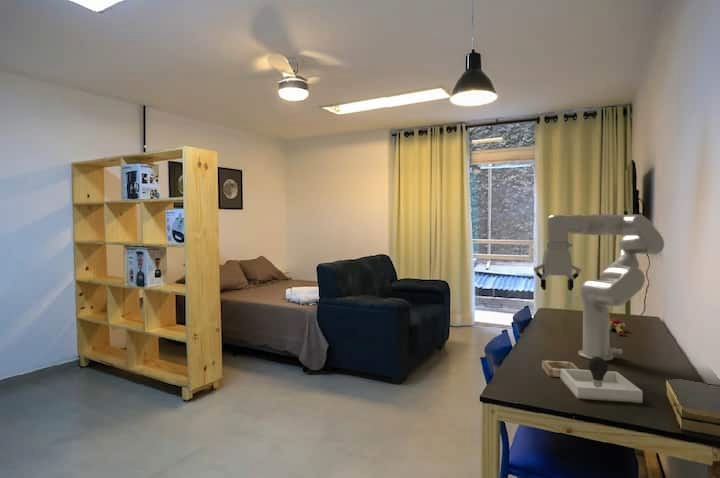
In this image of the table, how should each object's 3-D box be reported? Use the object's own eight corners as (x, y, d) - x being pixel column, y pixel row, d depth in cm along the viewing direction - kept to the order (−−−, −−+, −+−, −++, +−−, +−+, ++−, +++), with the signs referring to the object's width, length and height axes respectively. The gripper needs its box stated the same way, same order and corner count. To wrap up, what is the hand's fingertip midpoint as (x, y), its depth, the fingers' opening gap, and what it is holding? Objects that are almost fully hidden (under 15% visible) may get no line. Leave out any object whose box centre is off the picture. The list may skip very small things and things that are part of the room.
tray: (616, 382, 144) (617, 371, 144) (642, 402, 126) (642, 391, 126) (560, 378, 147) (560, 368, 147) (577, 398, 129) (577, 387, 129)
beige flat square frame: (571, 368, 158) (571, 362, 158) (580, 378, 147) (581, 371, 147) (542, 366, 159) (542, 360, 159) (549, 376, 149) (549, 369, 149)
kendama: (631, 339, 208) (622, 327, 225) (629, 327, 207) (620, 315, 224) (614, 341, 210) (606, 328, 227) (612, 328, 210) (604, 317, 227)
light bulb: (584, 384, 139) (584, 354, 139) (600, 384, 140) (600, 354, 140) (595, 391, 134) (595, 359, 134) (611, 390, 134) (612, 359, 134)
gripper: (577, 246, 168) (577, 289, 169) (532, 245, 171) (531, 287, 172) (584, 247, 161) (583, 291, 161) (536, 246, 164) (535, 290, 164)
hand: (556, 289), depth 166 cm, fingers open, 9 cm apart
